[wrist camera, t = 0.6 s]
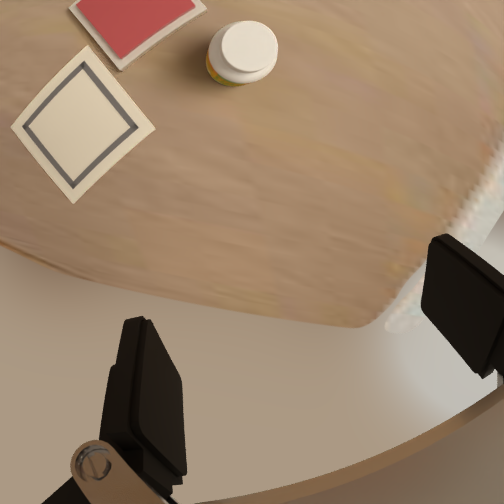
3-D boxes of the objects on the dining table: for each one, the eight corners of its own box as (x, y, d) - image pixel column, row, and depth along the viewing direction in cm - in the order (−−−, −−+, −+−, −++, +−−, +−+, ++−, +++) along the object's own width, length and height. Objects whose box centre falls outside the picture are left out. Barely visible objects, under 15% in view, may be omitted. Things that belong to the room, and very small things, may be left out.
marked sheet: (88, 45, 23) (87, 44, 23) (156, 128, 29) (155, 129, 28) (11, 126, 25) (10, 127, 24) (74, 203, 30) (73, 204, 30)
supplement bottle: (205, 88, 28) (211, 82, 19) (204, 37, 25) (209, 12, 17) (260, 86, 28) (288, 81, 20) (259, 36, 26) (287, 13, 17)
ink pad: (152, -48, 19) (150, -55, 17) (206, 12, 24) (207, 6, 22) (72, 10, 20) (65, 5, 19) (122, 71, 25) (118, 69, 23)
